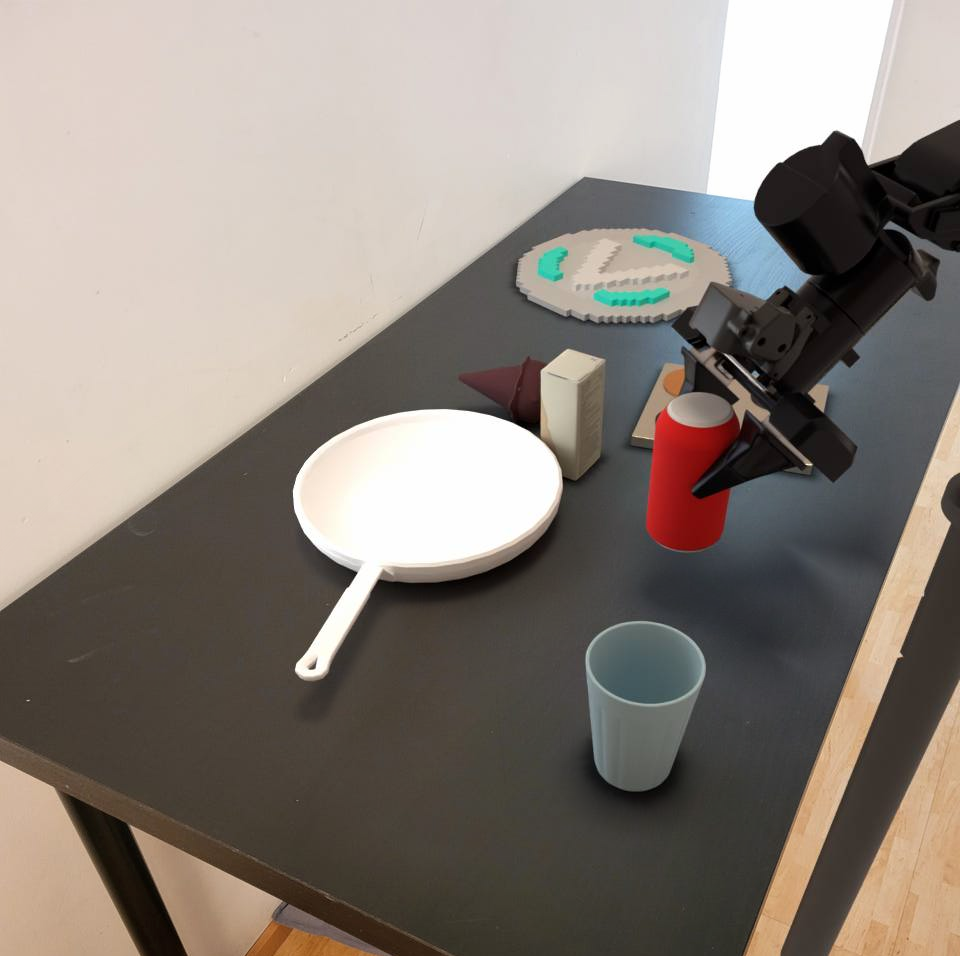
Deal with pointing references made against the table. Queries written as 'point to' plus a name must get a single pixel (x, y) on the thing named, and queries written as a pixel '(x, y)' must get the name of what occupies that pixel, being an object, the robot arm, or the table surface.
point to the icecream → (511, 388)
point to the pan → (421, 505)
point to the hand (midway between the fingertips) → (675, 472)
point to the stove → (672, 384)
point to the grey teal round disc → (620, 274)
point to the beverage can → (689, 471)
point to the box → (573, 410)
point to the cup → (640, 700)
